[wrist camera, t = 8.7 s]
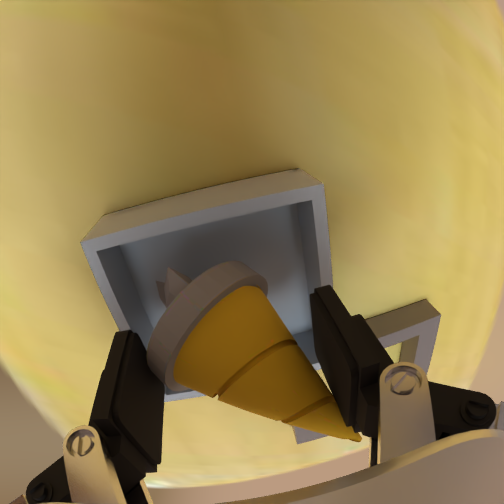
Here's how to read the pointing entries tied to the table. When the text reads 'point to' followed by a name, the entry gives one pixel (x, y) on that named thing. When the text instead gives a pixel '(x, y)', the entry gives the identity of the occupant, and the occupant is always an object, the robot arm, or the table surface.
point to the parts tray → (217, 249)
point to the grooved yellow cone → (238, 350)
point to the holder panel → (395, 331)
